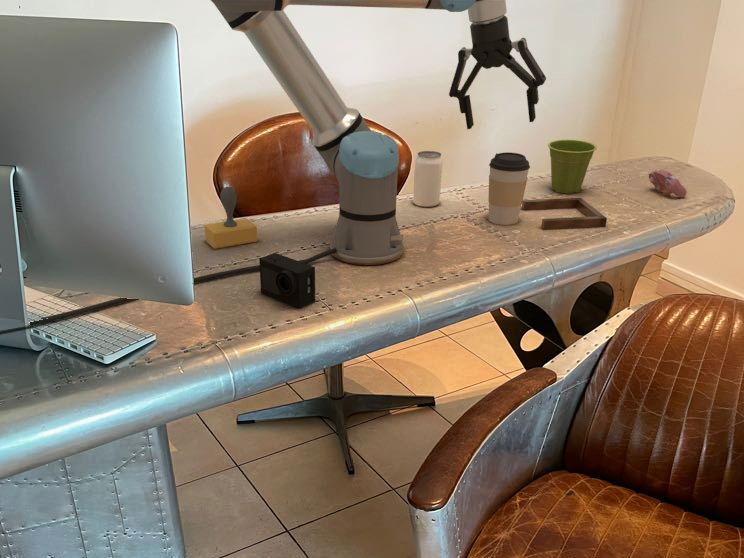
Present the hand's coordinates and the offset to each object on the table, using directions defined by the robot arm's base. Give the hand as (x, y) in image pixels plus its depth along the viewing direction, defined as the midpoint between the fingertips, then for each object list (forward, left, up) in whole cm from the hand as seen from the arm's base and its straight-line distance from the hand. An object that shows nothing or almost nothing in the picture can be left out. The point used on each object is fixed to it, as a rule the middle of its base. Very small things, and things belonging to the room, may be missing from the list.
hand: (501, 123), depth 175 cm
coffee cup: (+3, +1, -22) cm, 23 cm away
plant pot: (+26, +21, -22) cm, 41 cm away
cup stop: (+17, +1, -22) cm, 28 cm away
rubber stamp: (-60, -5, -22) cm, 64 cm away
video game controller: (+50, +15, -22) cm, 57 cm away
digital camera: (-51, -36, -22) cm, 66 cm away
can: (-12, +15, -22) cm, 29 cm away
